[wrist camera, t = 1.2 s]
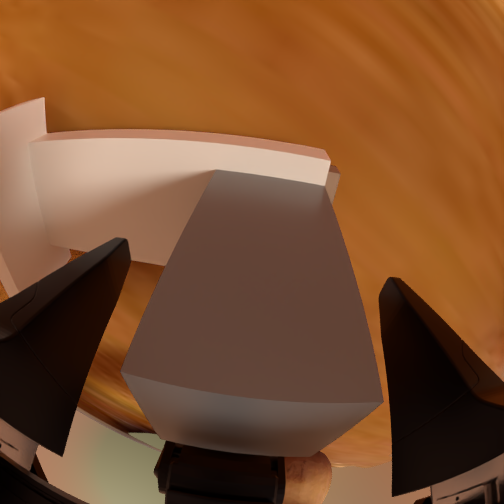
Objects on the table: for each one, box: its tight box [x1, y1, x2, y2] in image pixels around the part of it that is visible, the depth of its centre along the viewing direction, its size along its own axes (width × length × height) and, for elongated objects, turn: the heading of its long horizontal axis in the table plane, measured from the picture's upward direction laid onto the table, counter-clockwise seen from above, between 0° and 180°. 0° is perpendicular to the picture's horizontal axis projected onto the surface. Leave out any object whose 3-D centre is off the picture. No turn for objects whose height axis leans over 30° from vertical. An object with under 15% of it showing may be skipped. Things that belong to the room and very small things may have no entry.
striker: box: [0, 97, 384, 457], centre depth 8 cm, size 10×15×10 cm, turn 83°
